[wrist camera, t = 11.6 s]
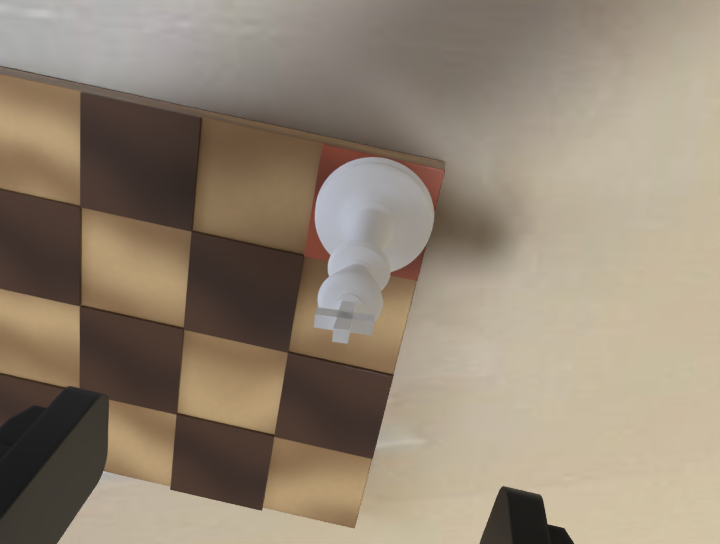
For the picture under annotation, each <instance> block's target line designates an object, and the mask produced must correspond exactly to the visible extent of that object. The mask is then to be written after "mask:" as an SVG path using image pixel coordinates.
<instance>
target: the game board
mask: <svg viewBox="0 0 720 544" xmlns="http://www.w3.org/2000/svg"><path fill="white" fill-rule="evenodd" d="M366 157H380V158H386V159H390V160H393V161H396V162H398V163H401V164H402V165H404V166H406V167H407V168H409V169H410V170H412V171H413V172H414V173H415V174H416V175H417V176H418V177H419V178H420V179H421V180H422V181H423V183H424V184H425V186H426V187H427V189H428V191H429V193H430V196H431V199H432V202H433V207H434V212H435V208H436V204H437V200H438V196H439V192H440V188H441V184H442V180H443V176H444V172H445V167H444V162H443V161H438V160H433V159H429V158H424V157H419V156H415V155H410V154H405V153H401V152H396V151H391V150H387V149H382V148H377V147H373V146H368V145H363V144H359V143H354V142H350V141H345V140H340V139H336V138H331V137H326V136H322V135H317V134H312V133H308V132H303V131H298V130H294V129H289V128H284V127H280V126H275V125H270V124H266V123H261V122H256V121H252V120H247V119H242V118H238V117H233V116H228V115H224V114H219V113H214V112H210V111H205V110H200V109H196V108H191V107H186V106H182V105H177V104H173V103H168V102H163V101H159V100H154V99H149V98H145V97H140V96H135V95H131V94H126V93H121V92H117V91H112V90H107V89H103V88H98V87H93V86H89V85H84V84H79V83H75V82H70V81H65V80H61V79H56V78H51V77H47V76H42V75H37V74H33V73H28V72H23V71H19V70H14V69H9V68H5V67H0V427H1V426H2V425H3V424H4V423H5V422H6V421H7V420H8V419H9V418H11V417H13V416H15V415H17V414H19V413H21V412H22V411H24V410H26V409H28V408H30V407H32V406H34V405H36V406H40V407H45V408H47V407H48V406H49V405H50V404H51V403H52V402H53V401H54V399H55V398H56V397H57V396H58V395H59V394H60V393H61V392H62V391H63V390H64V389H65V388H66V387H68V386H73V387H77V388H81V389H86V390H90V391H95V392H99V393H103V394H106V395H107V396H108V399H109V423H108V455H107V460H106V464H105V467H104V470H103V471H106V472H110V473H114V474H119V475H123V476H127V477H132V478H136V479H141V480H145V481H149V482H154V483H158V484H162V485H167V486H171V487H170V490H174V491H178V492H183V493H187V494H191V495H196V496H200V497H205V498H209V499H213V500H218V501H222V502H226V503H231V504H235V505H240V506H244V507H248V508H253V509H257V510H261V511H262V509H263V508H267V509H272V510H276V511H280V512H285V513H289V514H293V515H298V516H302V517H307V518H311V519H315V520H320V521H324V522H328V523H333V524H337V525H342V526H346V527H350V528H355V525H356V521H357V517H358V513H359V509H360V505H361V501H362V497H363V493H364V489H365V485H366V481H367V477H368V473H369V469H370V465H371V461H372V459H373V455H374V451H375V447H376V443H377V439H378V435H379V431H380V427H381V423H382V419H383V415H384V411H385V407H386V403H387V399H388V395H389V391H390V387H391V383H392V379H393V374H394V370H395V366H396V362H397V358H398V354H399V350H400V346H401V342H402V338H403V334H404V330H405V326H406V322H407V318H408V314H409V310H410V306H411V302H412V298H413V294H414V290H415V286H416V282H417V280H418V276H419V272H420V268H421V264H422V260H423V256H424V252H425V248H426V245H425V247H424V249H423V250H422V252H421V253H420V254H419V255H418V256H417V257H416V258H415V259H414V260H413V261H412V262H411V263H409V264H408V265H406V266H405V267H403V268H401V269H398V270H396V271H393V272H391V273H390V278H389V281H388V283H387V285H386V286H385V288H384V289H383V290H382V291H381V293H382V297H383V308H382V312H381V314H380V316H379V318H378V319H377V320H376V321H375V323H374V328H373V334H372V336H371V335H364V334H357V333H350V336H349V340H348V344H345V343H338V342H332V337H333V330H328V329H320V328H314V319H315V313H316V310H317V307H318V300H317V298H318V292H319V289H320V287H321V285H322V284H323V282H324V281H325V280H326V279H327V278H328V277H329V275H328V261H329V258H330V256H331V255H330V254H329V253H328V252H327V251H326V249H325V248H324V246H323V245H322V243H321V241H320V239H319V236H318V234H317V230H316V226H315V206H316V200H317V196H318V193H319V191H320V189H321V187H322V185H323V183H324V182H325V180H326V179H327V178H328V177H329V176H330V175H331V174H332V173H333V172H334V171H335V170H336V169H337V168H339V167H340V166H342V165H344V164H346V163H348V162H350V161H353V160H356V159H360V158H366Z"/></svg>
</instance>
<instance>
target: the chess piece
mask: <svg viewBox="0 0 720 544" xmlns="http://www.w3.org/2000/svg"><path fill="white" fill-rule="evenodd" d="M433 224H434V207H433V202H432V199H431V196H430V193H429V191H428V189H427V187H426V186H425V184H424V183H423V181H422V180H421V179H420V178H419V177H418V176H417V175H416V174H415V173H414V172H413V171H412V170H410V169H409V168H407V167H406V166H404V165H402V164H401V163H398V162H396V161H393V160H390V159H386V158H380V157H366V158H360V159H356V160H353V161H350V162H348V163H346V164H344V165H342V166H340V167H339V168H337V169H336V170H335V171H334V172H333V173H332V174H331V175H330V176H329V177H328V178H327V179H326V180H325V182H324V183H323V185H322V187H321V189H320V191H319V193H318V196H317V200H316V206H315V226H316V230H317V234H318V236H319V239H320V241H321V243H322V245H323V246H324V248H325V249H326V251H327V252H328V253H329V254H330V255H331V256H330V258H329V261H328V275H329V277H328V278H327V279H326V280H325V281H324V282H323V284H322V285H321V287H320V289H319V292H318V298H317V300H318V307H317V310H316V313H315V319H314V328H320V329H328V330H333V337H332V342H338V343H345V344H348V340H349V336H350V333H357V334H364V335H371V336H372V334H373V328H374V323H375V321H376V320H377V319H378V318H379V316H380V314H381V312H382V308H383V297H382V293H381V291H382V290H383V289H384V288H385V286H386V285H387V283H388V281H389V278H390V273H391V272H393V271H396V270H398V269H401V268H403V267H405V266H406V265H408V264H409V263H411V262H412V261H413V260H414V259H415V258H416V257H417V256H418V255H419V254H420V253H421V252H422V250H423V249H424V247H425V245H426V244H427V241H428V239H429V237H430V235H431V232H432V229H433Z"/></svg>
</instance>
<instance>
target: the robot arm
mask: <svg viewBox="0 0 720 544" xmlns="http://www.w3.org/2000/svg"><path fill="white" fill-rule="evenodd" d="M108 423H109V399H108V396H107V395H106V394H103V393H99V392H95V391H90V390H86V389H81V388H77V387H73V386H68V387H66V388H65V389H64V390H63V391H62V392H61V393H60V394H59V395H58V396H57V397H56V398H55V399H54V401H53V402H52V403H51V404H50V405H49V406H48V407H47V408H45V407H40V406H36V405H34V406H32V407H30V408H28V409H26V410H24V411H22V412H21V413H19V414H17V415H15V416H13V417H11V418H9V419H8V420H7V421H6V422H5V423H4V424H3V425H2V426H1V427H0V544H57V543H58V541H59V540H60V538H61V537H62V535H63V534H64V532H65V531H66V529H67V528H68V526H69V525H70V523H71V522H72V521H73V519H74V518H75V516H76V515H77V513H78V512H79V510H80V509H81V507H82V506H83V504H84V503H85V501H86V500H87V498H88V497H89V495H90V494H91V492H92V491H93V489H94V488H95V486H96V485H97V483H98V482H99V480H100V478H101V475H102V473H103V470H104V467H105V464H106V460H107V455H108ZM480 544H574V543H573V541H572V540H571V538H570V536H569V535H568V533H567V532H566V530H565V529H564V528H561V527H557V526H552V525H548V524H547V519H546V514H545V508H544V503H543V499H542V497H541V495H539V494H535V493H531V492H526V491H522V490H518V489H513V488H509V487H505V486H503V487H501V489H500V490H499V493H498V495H497V498H496V500H495V503H494V506H493V508H492V511H491V514H490V517H489V519H488V522H487V525H486V527H485V530H484V533H483V535H482V538H481V541H480Z"/></svg>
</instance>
